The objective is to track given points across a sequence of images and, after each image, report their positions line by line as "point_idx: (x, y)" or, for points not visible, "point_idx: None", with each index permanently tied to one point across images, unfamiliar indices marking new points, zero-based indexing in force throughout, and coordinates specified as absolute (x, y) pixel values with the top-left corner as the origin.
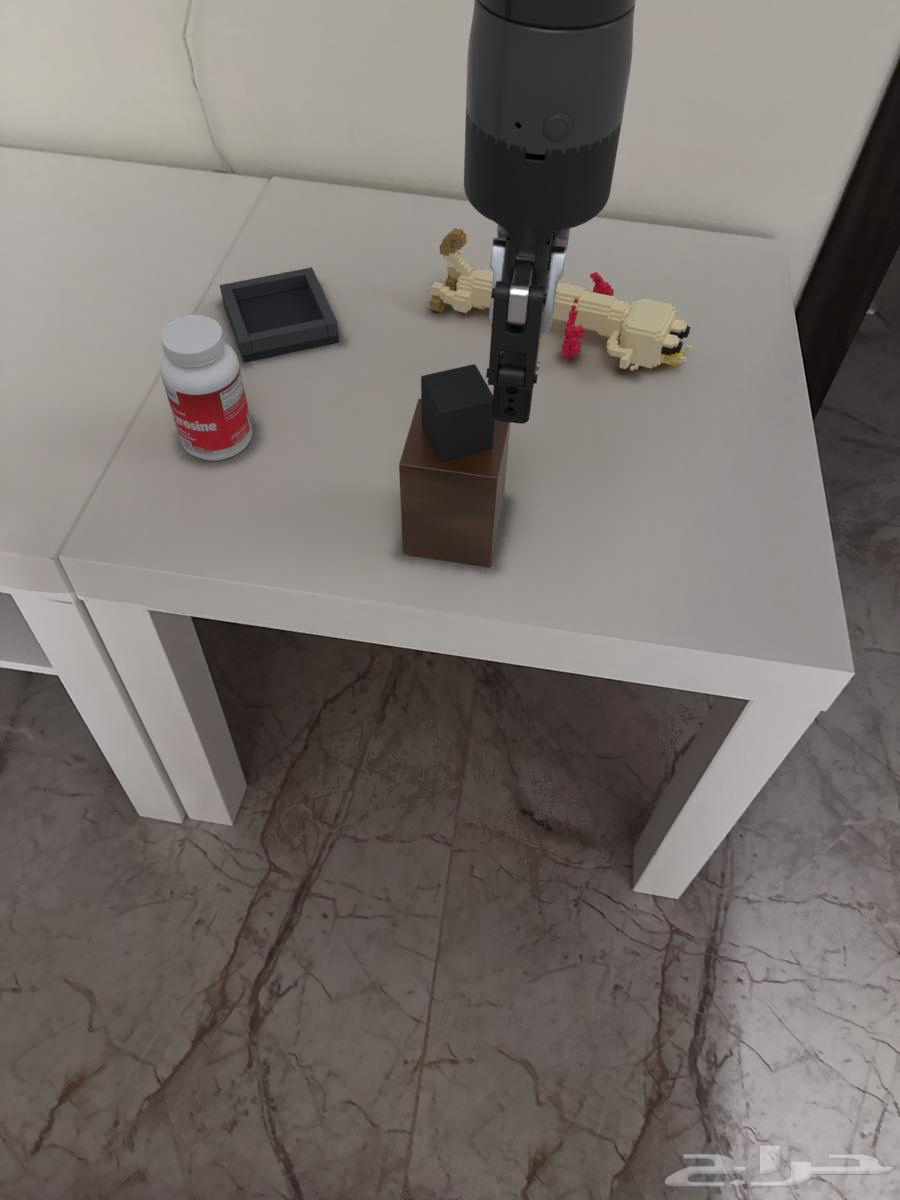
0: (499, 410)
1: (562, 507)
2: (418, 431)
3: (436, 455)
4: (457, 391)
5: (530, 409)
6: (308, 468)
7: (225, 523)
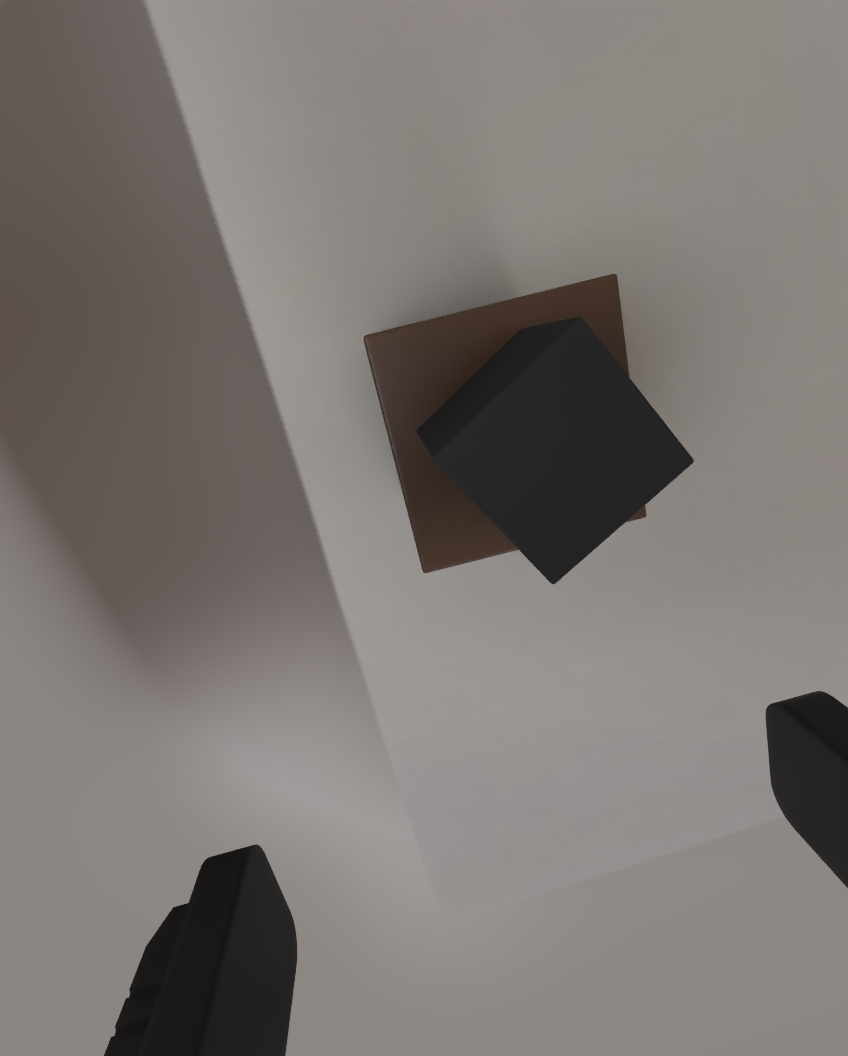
0: (141, 975)
1: None
2: (495, 331)
3: (433, 413)
4: (549, 464)
5: (294, 972)
6: (495, 37)
7: None
